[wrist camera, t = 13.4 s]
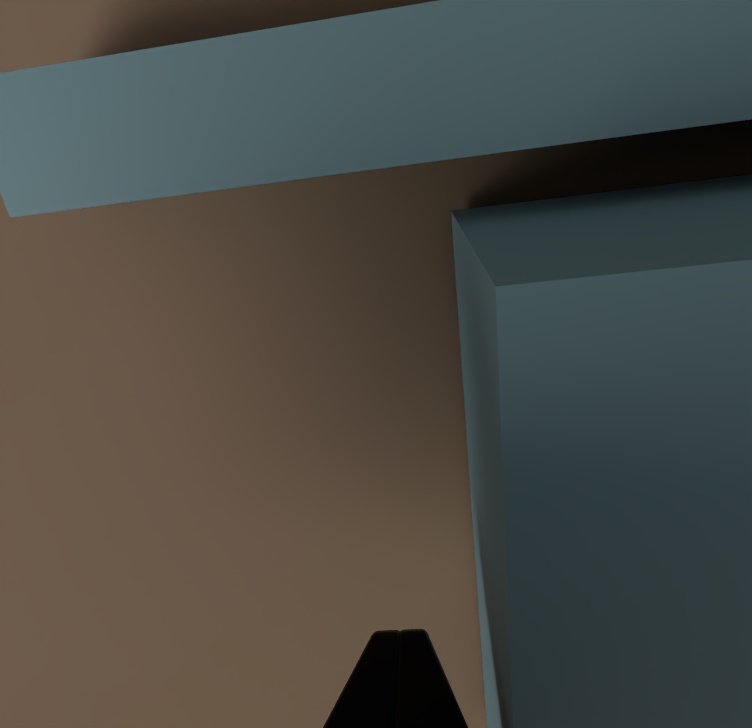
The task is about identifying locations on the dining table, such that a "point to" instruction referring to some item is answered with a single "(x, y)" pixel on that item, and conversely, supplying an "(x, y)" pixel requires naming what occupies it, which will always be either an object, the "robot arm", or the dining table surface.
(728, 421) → the block
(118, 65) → the vise body
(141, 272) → the dining table surface
